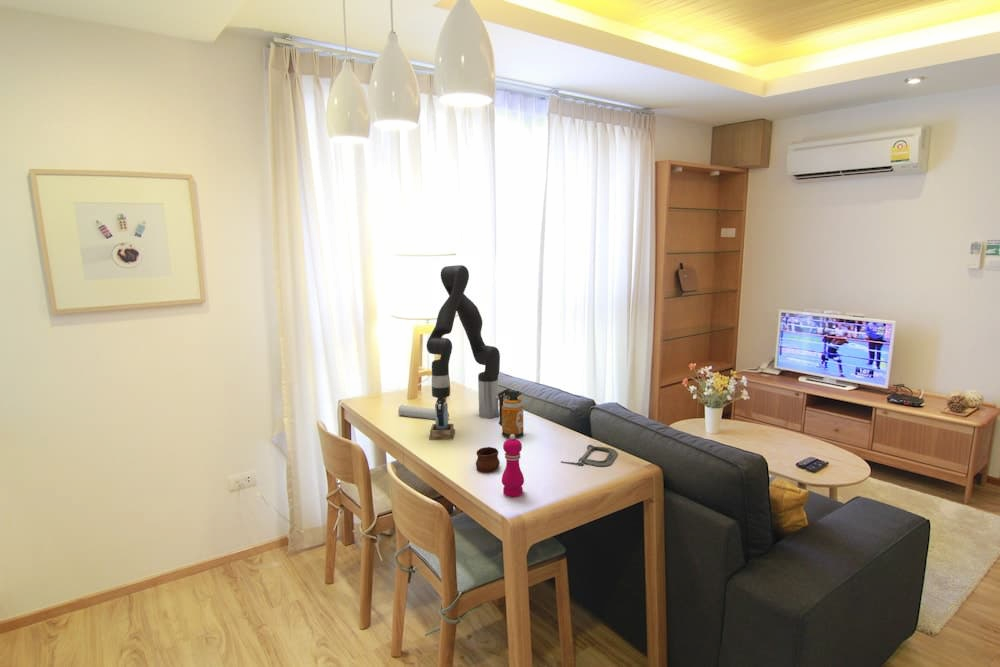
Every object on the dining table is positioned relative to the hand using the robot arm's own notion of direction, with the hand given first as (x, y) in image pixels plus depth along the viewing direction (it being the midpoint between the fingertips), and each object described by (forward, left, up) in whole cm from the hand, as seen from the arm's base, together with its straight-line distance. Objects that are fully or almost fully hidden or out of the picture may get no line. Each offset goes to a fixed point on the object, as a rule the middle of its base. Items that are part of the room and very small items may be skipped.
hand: (442, 423), depth 232 cm
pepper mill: (-29, +55, -5) cm, 62 cm away
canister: (-29, +1, -5) cm, 30 cm away
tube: (+11, -25, -6) cm, 28 cm away
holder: (0, 0, -5) cm, 5 cm away
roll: (0, 0, -2) cm, 2 cm away
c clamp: (-59, +26, -6) cm, 65 cm away
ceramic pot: (-20, +35, -6) cm, 41 cm away
